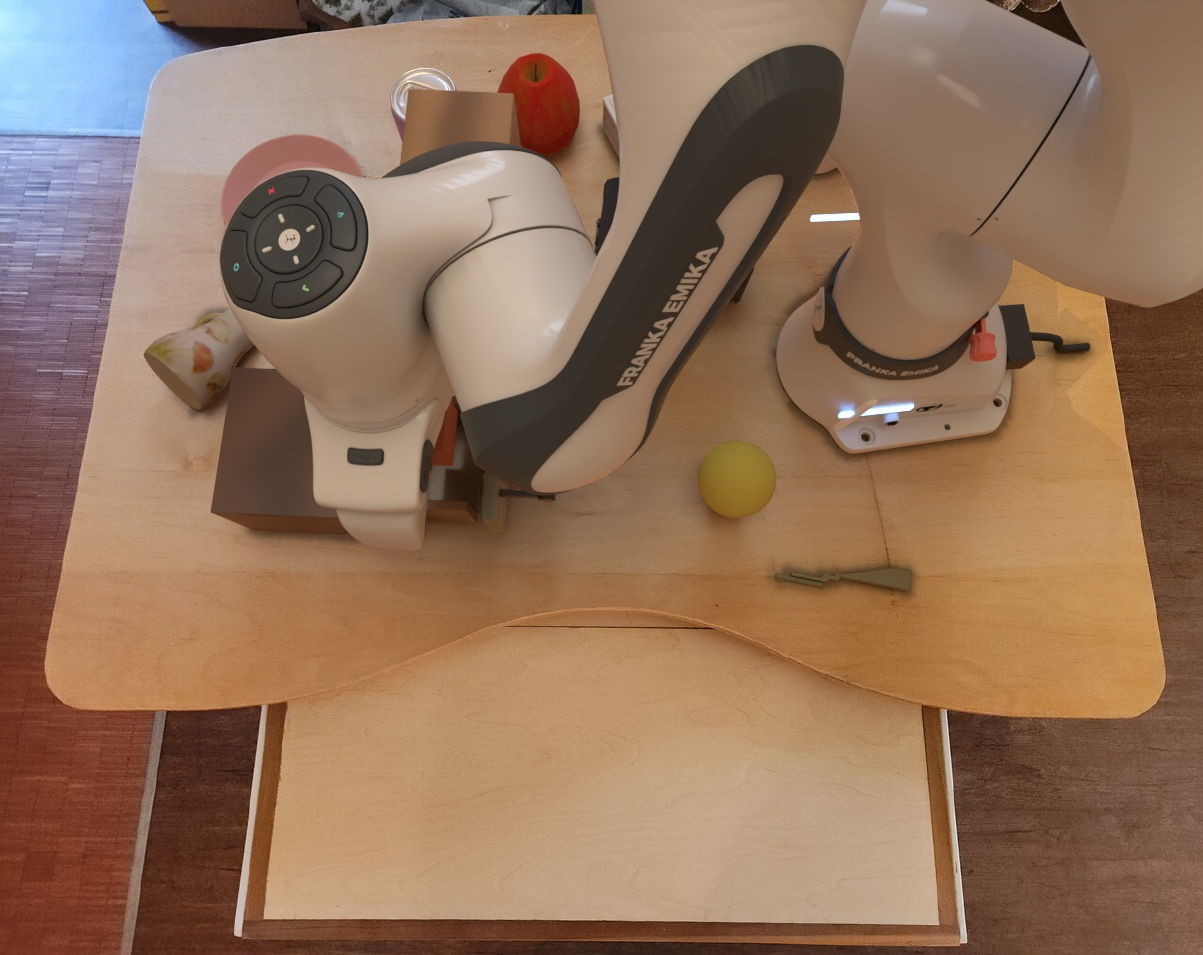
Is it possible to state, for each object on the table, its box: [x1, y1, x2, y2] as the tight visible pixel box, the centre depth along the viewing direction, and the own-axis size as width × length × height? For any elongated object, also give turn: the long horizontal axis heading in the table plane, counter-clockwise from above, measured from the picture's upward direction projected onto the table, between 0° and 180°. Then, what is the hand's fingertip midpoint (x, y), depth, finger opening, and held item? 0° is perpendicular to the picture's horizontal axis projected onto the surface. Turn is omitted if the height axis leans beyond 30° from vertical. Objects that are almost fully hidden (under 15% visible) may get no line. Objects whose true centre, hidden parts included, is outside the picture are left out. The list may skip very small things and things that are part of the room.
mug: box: [143, 309, 255, 410], centre depth 77 cm, size 8×10×10 cm
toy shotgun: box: [774, 567, 912, 592], centre depth 75 cm, size 12×2×1 cm, turn 88°
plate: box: [220, 134, 365, 228], centre depth 82 cm, size 14×14×2 cm
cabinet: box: [210, 366, 352, 536], centre depth 73 cm, size 15×13×9 cm
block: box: [432, 401, 458, 466], centre depth 64 cm, size 4×4×4 cm
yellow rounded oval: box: [696, 439, 777, 519], centre depth 72 cm, size 7×7×10 cm
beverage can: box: [389, 67, 458, 143], centre depth 77 cm, size 6×6×15 cm
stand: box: [399, 89, 522, 166], centre depth 67 cm, size 7×7×28 cm
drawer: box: [425, 395, 557, 535], centre depth 73 cm, size 18×11×7 cm, turn 88°
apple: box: [496, 52, 581, 156], centre depth 80 cm, size 8×8×11 cm
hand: (424, 433), depth 64 cm, fingers closed on block, 4 cm apart
